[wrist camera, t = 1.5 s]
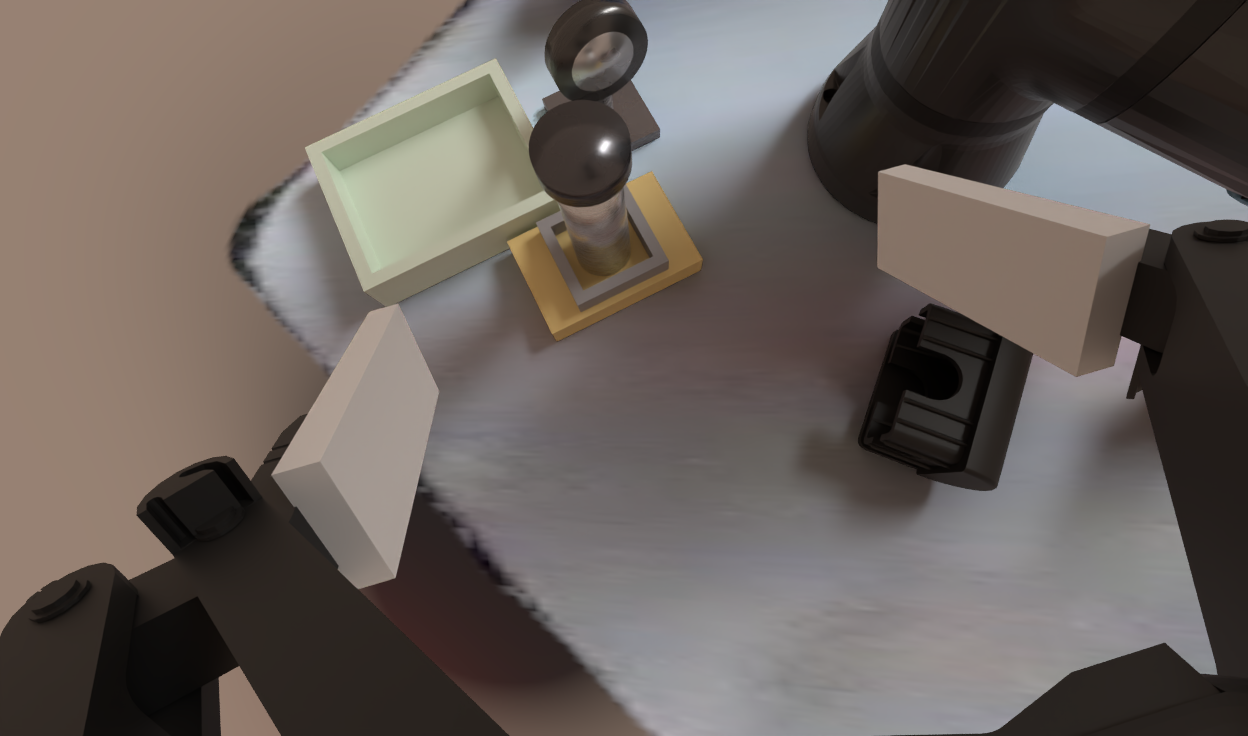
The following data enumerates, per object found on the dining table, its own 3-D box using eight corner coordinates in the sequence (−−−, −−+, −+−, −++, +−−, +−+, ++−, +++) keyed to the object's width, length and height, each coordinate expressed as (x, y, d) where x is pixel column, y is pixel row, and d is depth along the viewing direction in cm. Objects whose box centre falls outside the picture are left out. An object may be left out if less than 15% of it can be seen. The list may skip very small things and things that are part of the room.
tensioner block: (652, 185, 44) (651, 159, 40) (700, 270, 42) (704, 250, 38) (513, 252, 43) (501, 232, 40) (557, 341, 41) (548, 328, 38)
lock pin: (619, 206, 41) (602, 84, 29) (651, 264, 40) (648, 162, 28) (556, 236, 41) (512, 127, 29) (586, 296, 40) (554, 208, 27)
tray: (507, 90, 46) (496, 58, 43) (574, 216, 43) (567, 193, 40) (331, 173, 46) (304, 147, 42) (387, 307, 43) (363, 291, 39)
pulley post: (620, 71, 46) (608, -70, 34) (659, 137, 44) (660, 13, 33) (544, 107, 46) (506, -22, 34) (581, 175, 44) (554, 63, 33)
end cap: (956, 492, 37) (1020, 492, 31) (853, 452, 38) (893, 444, 32) (994, 357, 39) (1062, 330, 33) (894, 322, 40) (941, 289, 34)
